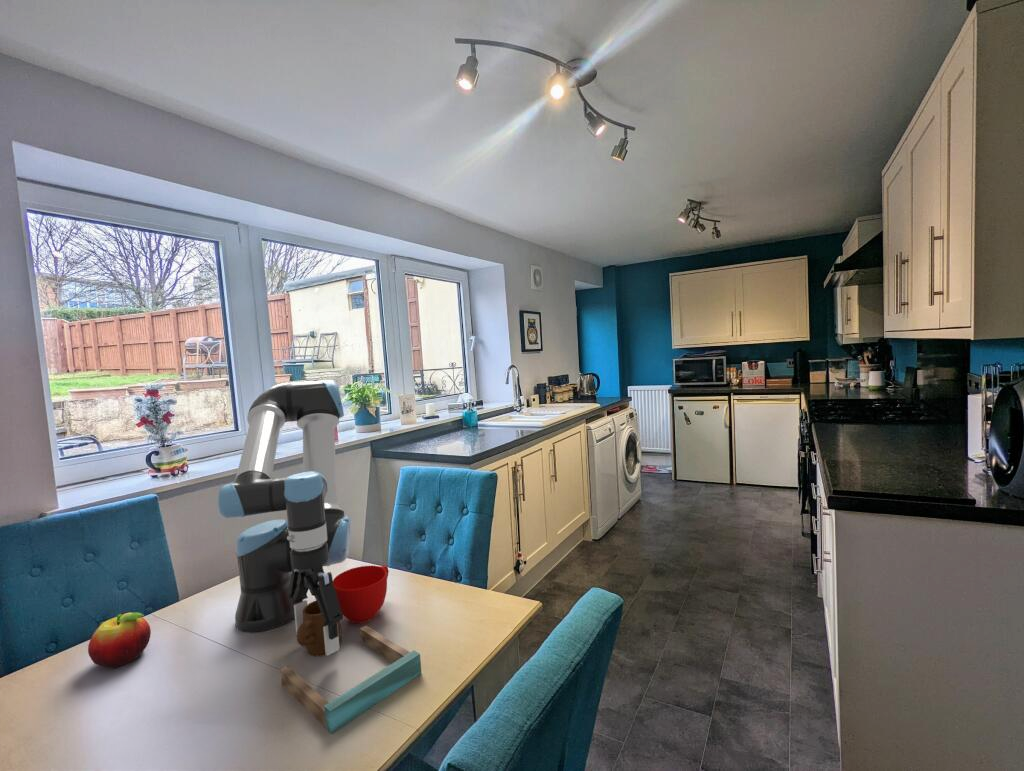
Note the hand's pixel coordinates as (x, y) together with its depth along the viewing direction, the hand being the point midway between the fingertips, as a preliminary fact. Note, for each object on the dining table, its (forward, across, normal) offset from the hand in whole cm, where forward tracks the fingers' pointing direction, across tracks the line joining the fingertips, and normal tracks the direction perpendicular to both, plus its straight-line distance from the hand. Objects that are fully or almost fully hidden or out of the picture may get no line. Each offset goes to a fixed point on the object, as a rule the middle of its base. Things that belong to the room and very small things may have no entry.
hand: (317, 641), depth 102 cm
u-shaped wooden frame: (+3, +13, 0) cm, 13 cm away
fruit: (+3, -35, -28) cm, 45 cm away
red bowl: (+3, -6, +16) cm, 18 cm away
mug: (+3, 0, 0) cm, 3 cm away
